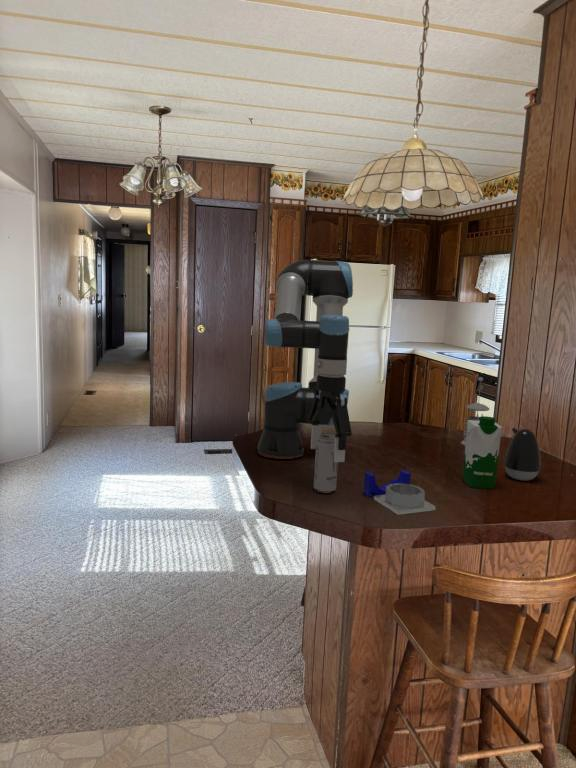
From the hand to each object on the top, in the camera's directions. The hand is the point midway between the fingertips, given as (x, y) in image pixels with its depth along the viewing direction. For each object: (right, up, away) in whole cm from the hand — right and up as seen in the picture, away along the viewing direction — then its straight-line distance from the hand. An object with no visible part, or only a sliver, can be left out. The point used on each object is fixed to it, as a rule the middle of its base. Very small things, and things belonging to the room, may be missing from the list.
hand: (326, 455), depth 152 cm
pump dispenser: (+60, -10, +21) cm, 64 cm away
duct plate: (+19, -12, -6) cm, 23 cm away
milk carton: (+45, -10, +14) cm, 48 cm away
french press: (+58, -4, +60) cm, 84 cm away
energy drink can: (0, -10, +2) cm, 10 cm away
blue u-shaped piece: (+16, -11, +2) cm, 19 cm away
